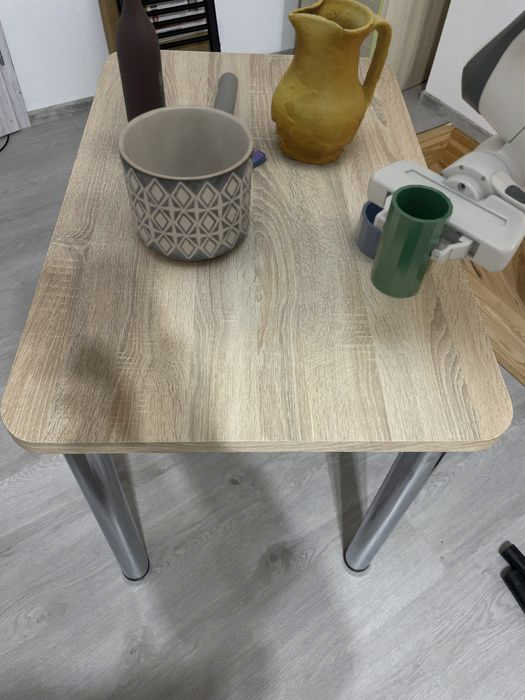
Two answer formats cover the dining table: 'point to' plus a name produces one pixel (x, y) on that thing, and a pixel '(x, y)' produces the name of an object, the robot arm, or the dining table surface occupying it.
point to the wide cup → (368, 229)
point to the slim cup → (410, 239)
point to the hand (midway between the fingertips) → (406, 240)
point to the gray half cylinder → (226, 93)
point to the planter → (188, 180)
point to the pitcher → (327, 79)
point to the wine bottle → (139, 61)
